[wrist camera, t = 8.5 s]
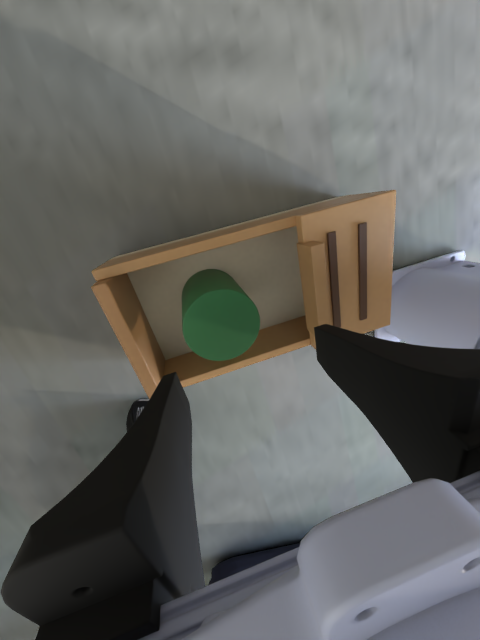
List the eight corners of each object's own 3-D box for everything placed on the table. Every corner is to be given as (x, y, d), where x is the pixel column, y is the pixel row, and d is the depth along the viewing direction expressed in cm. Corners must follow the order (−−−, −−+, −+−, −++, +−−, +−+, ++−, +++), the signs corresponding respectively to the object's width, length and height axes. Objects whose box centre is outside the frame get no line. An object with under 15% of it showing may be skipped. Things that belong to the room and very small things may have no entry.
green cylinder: (232, 261, 18) (252, 279, 13) (245, 314, 20) (266, 347, 15) (173, 278, 17) (170, 303, 12) (192, 331, 19) (196, 371, 14)
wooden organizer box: (338, 196, 19) (415, 187, 13) (343, 300, 23) (404, 331, 17) (113, 256, 17) (75, 280, 11) (160, 359, 21) (151, 419, 15)
